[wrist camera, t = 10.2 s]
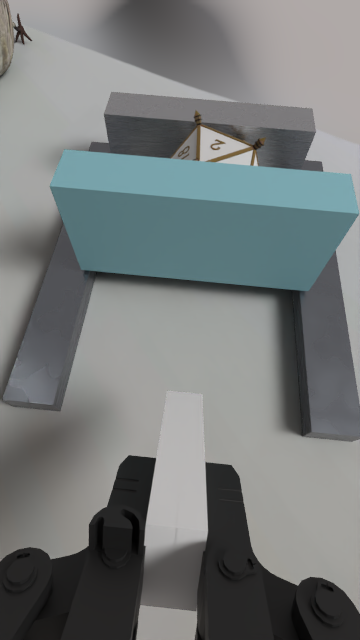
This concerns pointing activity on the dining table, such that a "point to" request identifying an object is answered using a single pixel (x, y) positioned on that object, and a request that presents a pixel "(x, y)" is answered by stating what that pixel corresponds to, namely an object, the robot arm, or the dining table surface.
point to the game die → (216, 147)
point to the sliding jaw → (202, 218)
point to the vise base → (309, 306)
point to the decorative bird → (8, 35)
